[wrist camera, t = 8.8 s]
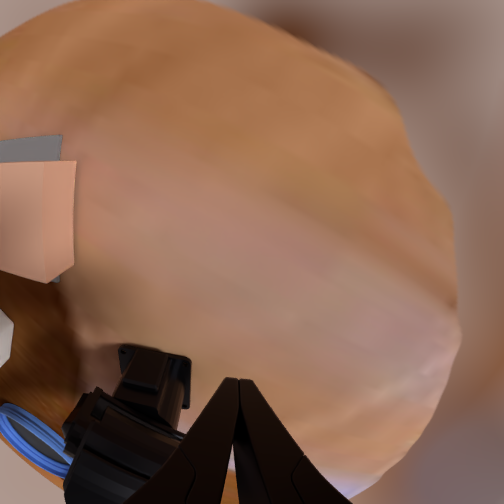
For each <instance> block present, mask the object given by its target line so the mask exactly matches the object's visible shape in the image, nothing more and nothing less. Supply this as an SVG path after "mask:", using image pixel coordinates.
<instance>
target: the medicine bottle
mask: <svg viewBox="0 0 504 504" xmlns="http://www.w3.org/2000/svg"><path fill="white" fill-rule="evenodd" d="M13 328H14V323H13V322H12V321H11V320H10V319H9V318H8V317H7V316H6V314H5V313H4V312H3V311H2V310H1V309H0V367H1V366H2V365H3V364H4V363H5V362H6V361H7V360H8V359H9V358H10V351H11V343H12V335H13Z"/></svg>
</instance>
